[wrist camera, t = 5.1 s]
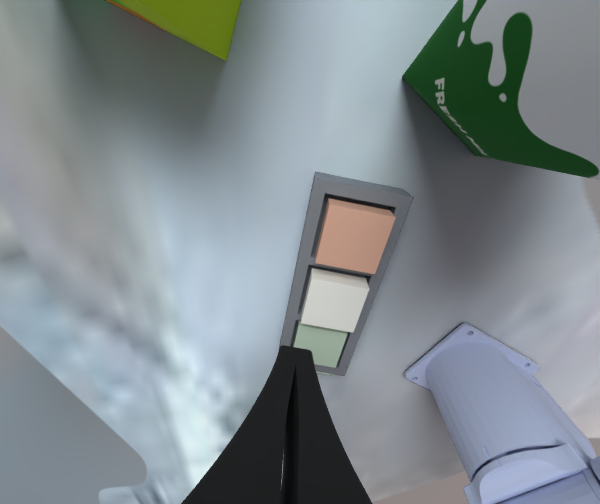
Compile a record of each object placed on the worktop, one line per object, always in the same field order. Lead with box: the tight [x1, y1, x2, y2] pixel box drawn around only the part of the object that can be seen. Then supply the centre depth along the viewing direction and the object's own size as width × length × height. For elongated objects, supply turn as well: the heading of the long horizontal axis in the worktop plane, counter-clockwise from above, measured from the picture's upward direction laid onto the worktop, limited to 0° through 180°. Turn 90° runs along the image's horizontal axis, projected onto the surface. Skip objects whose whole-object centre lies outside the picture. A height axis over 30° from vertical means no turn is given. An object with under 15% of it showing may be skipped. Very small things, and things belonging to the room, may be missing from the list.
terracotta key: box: [315, 198, 396, 274], centre depth 17 cm, size 4×4×1 cm
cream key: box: [301, 268, 369, 333], centre depth 19 cm, size 4×4×1 cm
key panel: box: [278, 172, 413, 376], centre depth 21 cm, size 17×6×2 cm, turn 169°
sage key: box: [292, 320, 347, 368], centre depth 22 cm, size 4×4×1 cm
